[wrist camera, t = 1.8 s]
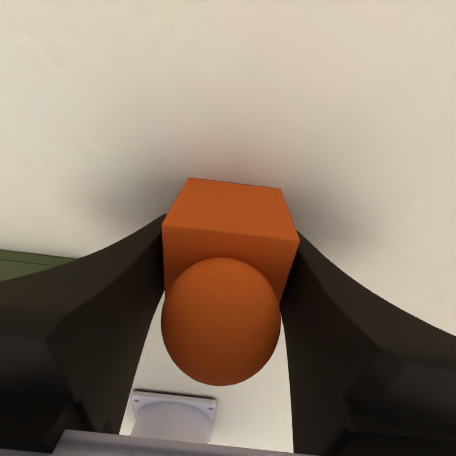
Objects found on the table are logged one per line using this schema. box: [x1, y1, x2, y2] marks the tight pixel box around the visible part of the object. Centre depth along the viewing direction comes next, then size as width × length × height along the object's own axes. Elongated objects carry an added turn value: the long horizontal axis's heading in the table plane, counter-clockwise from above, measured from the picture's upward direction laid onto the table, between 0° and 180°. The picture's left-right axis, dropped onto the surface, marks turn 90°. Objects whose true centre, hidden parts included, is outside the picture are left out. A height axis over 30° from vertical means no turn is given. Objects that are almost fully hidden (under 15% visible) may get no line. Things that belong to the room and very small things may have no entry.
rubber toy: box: [161, 178, 300, 386], centre depth 9 cm, size 4×4×8 cm
